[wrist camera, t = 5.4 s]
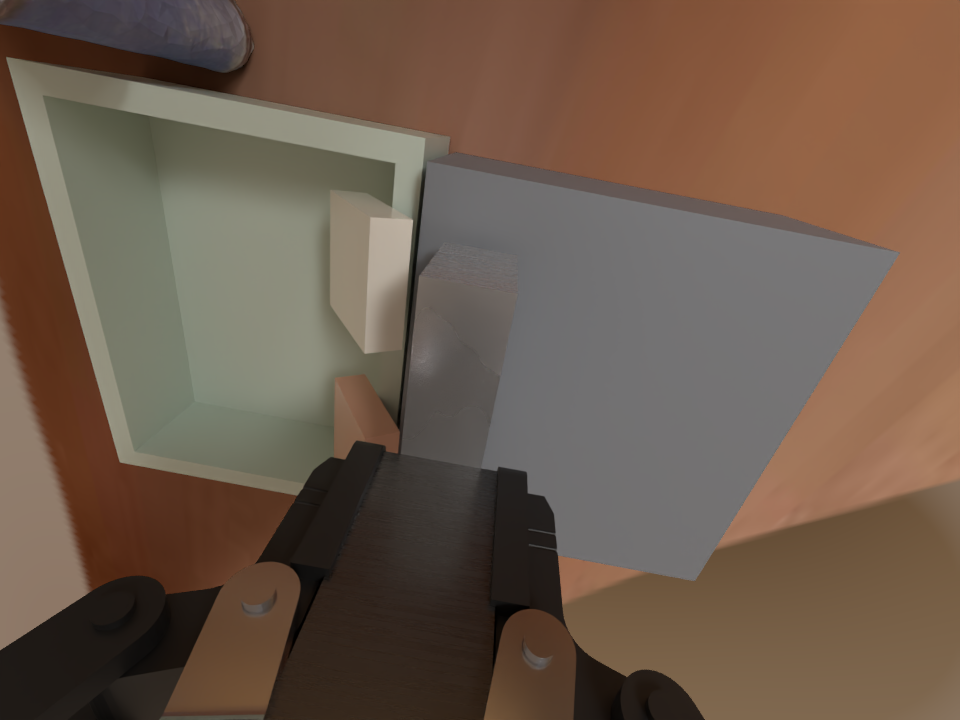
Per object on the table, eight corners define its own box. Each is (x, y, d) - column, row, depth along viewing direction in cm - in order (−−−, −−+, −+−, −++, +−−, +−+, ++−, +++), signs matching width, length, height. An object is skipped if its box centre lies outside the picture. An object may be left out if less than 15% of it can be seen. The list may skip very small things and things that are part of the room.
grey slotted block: (456, 152, 17) (427, 161, 12) (782, 215, 17) (900, 252, 12) (418, 435, 24) (389, 523, 18) (655, 480, 24) (694, 581, 18)
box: (141, 76, 17) (6, 57, 12) (450, 136, 17) (425, 138, 12) (194, 401, 24) (119, 462, 19) (412, 441, 24) (387, 512, 19)
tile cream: (366, 192, 15) (330, 189, 14) (413, 219, 12) (370, 217, 11) (362, 303, 17) (330, 304, 16) (402, 349, 14) (364, 354, 13)
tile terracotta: (364, 373, 18) (334, 377, 17) (400, 431, 15) (365, 438, 14) (361, 450, 20) (333, 456, 19) (391, 515, 17) (360, 525, 16)
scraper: (426, 238, 12) (199, 473, 3) (535, 258, 12) (584, 540, 3) (393, 545, 17) (274, 938, 9) (468, 559, 17) (423, 963, 9)
